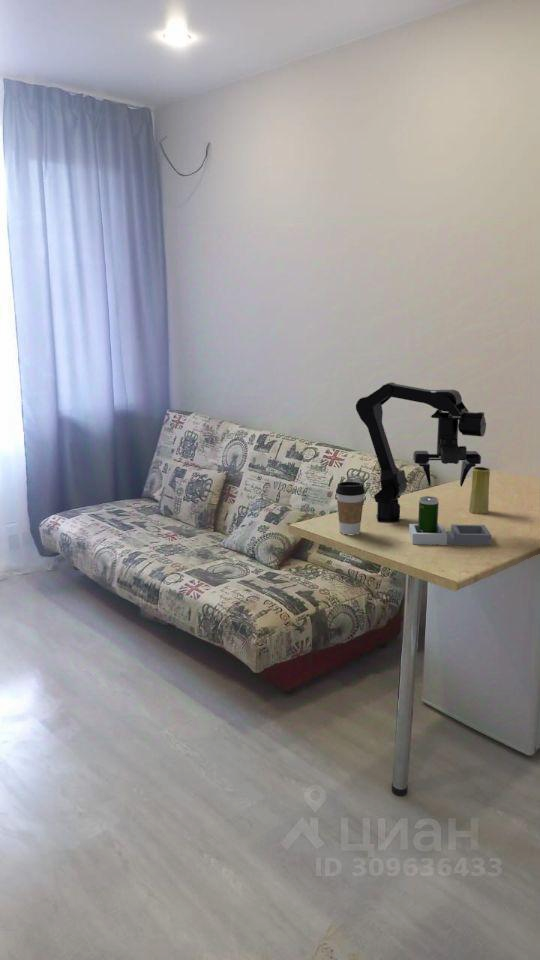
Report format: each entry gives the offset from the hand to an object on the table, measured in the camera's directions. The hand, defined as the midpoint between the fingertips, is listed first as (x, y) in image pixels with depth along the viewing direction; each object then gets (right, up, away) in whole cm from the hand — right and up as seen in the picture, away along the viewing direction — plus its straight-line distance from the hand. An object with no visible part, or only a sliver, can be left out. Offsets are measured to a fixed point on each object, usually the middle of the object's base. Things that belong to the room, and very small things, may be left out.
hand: (445, 485), depth 207 cm
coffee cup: (-28, -14, 0) cm, 32 cm away
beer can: (-7, -15, -7) cm, 18 cm away
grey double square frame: (-1, -15, -7) cm, 17 cm away
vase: (+16, -9, +19) cm, 26 cm away
